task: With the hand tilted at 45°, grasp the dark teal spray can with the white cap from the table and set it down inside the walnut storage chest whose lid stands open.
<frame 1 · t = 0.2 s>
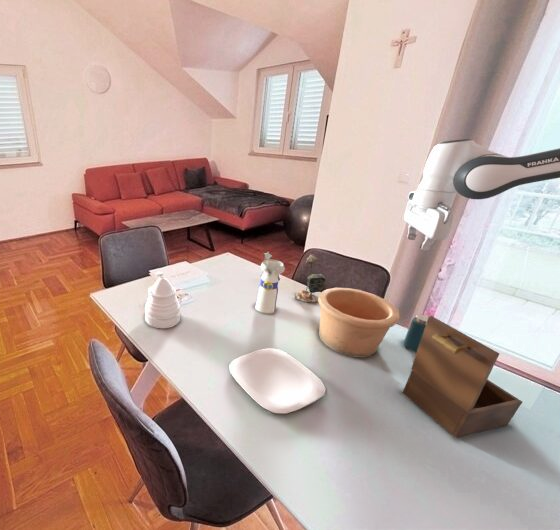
hand: (416, 244, 96), 32 cm above the table, tool pointing down, fingers open, 8 cm apart
pottery: (346, 341, 104), on the table
honey pot: (162, 318, 116), on the table
chest lid: (442, 364, 71), point 16 cm above the table, hinge at 95.0°
plate: (274, 381, 88), on the table
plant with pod: (308, 299, 129), on the table
chest: (451, 408, 79), on the table
spray can: (412, 346, 101), on the table
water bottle: (265, 308, 122), on the table
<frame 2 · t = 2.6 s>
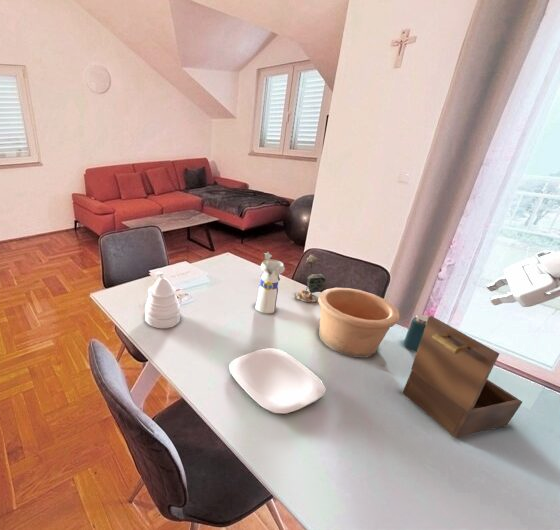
hand: (489, 294, 86), 23 cm above the table, tool tilted 45°, fingers open, 8 cm apart
nothing on the table moved.
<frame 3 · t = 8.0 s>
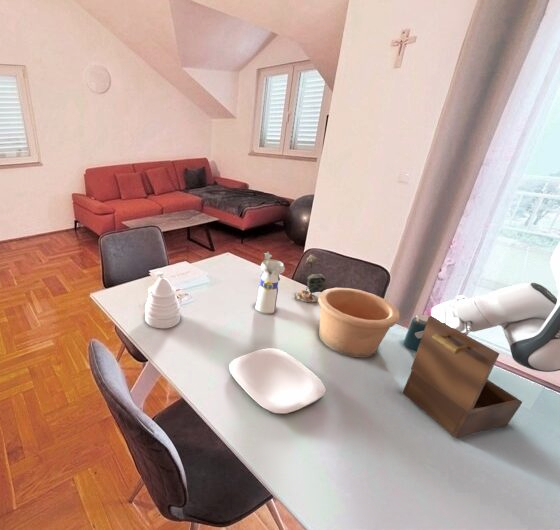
hand: (416, 330, 99), 6 cm above the table, tool tilted 45°, fingers closed on spray can, 5 cm apart
spray can: (412, 346, 101), on the table, touching gripper
everything else where it was.
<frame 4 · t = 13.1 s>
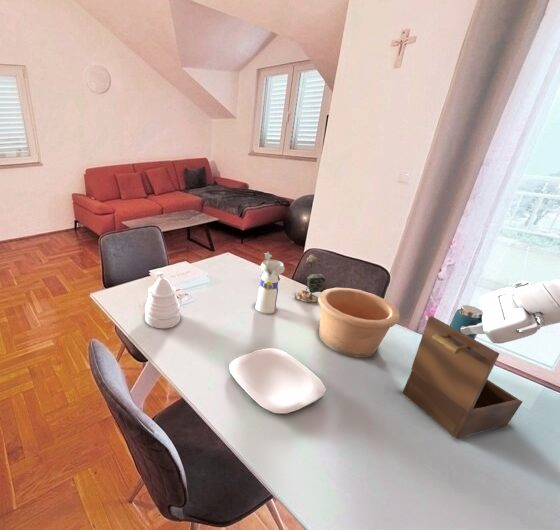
hand: (461, 325, 79), 19 cm above the table, tool tilted 45°, fingers closed on spray can, 5 cm apart
spray can: (455, 345, 81), point 13 cm above the table, touching gripper
everything else where it was.
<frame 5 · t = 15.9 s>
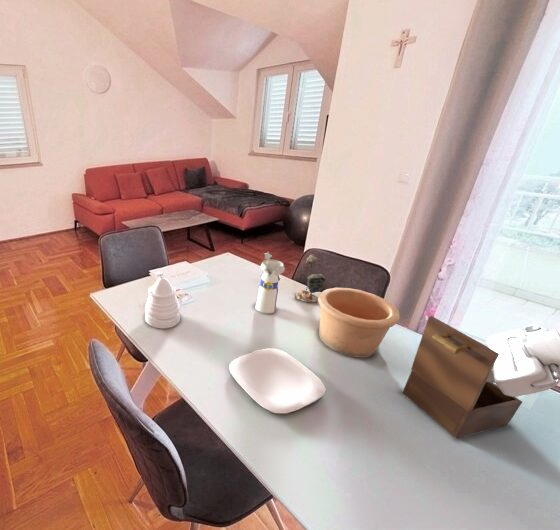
hand: (469, 369, 74), 13 cm above the table, tool tilted 45°, fingers closed on spray can, 5 cm apart
spray can: (462, 389, 76), point 7 cm above the table, touching gripper
everything else where it was.
when the fingers open (7 cm above the table, at t = 18.0 s): spray can stays where it is, resting on chest.
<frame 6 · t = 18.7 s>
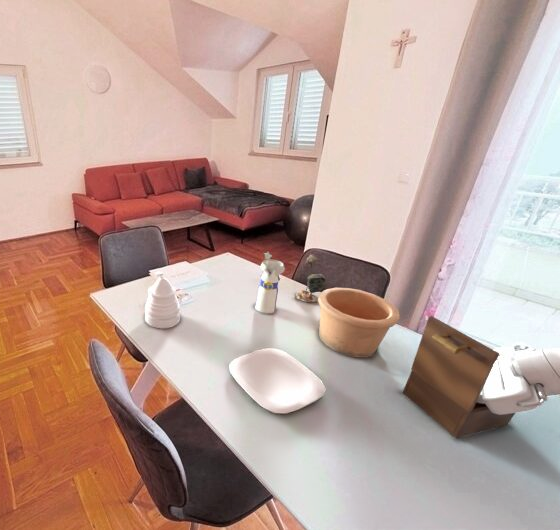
hand: (459, 385, 77), 7 cm above the table, tool tilted 45°, fingers open, 8 cm apart
spray can: (452, 406, 79), point 1 cm above the table, touching chest
everything else where it was.
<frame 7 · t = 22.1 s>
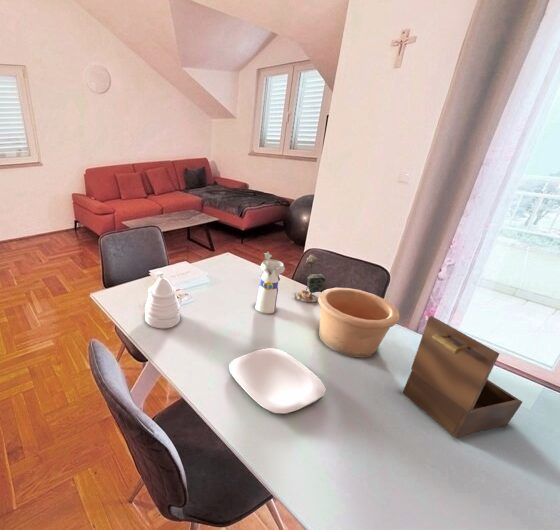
nothing on the table moved.
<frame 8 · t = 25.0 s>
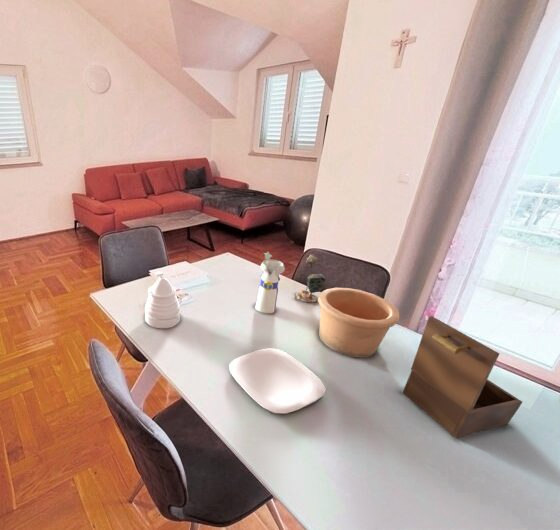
nothing on the table moved.
at the end: spray can inside the target area in the chest (0.1 cm from its centre), point 0.8 cm above the chest's base; spray can tilted 0°; the gripper is holding nothing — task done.
